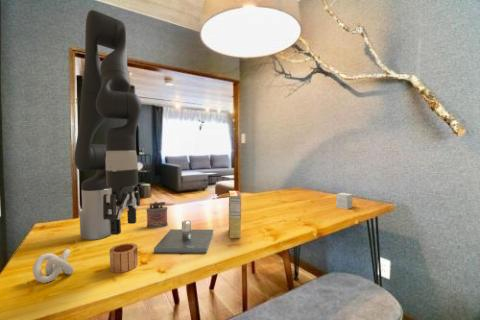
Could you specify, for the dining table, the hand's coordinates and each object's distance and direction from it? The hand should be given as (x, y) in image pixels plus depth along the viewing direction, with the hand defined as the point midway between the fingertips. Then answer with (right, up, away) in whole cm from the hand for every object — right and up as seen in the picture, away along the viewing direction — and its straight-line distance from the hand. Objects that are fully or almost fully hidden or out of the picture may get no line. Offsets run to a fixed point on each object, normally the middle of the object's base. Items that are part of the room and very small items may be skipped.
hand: (124, 228), depth 62 cm
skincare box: (+87, -7, +61) cm, 106 cm away
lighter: (-3, -9, +33) cm, 34 cm away
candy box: (+29, -9, +24) cm, 39 cm away
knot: (-14, -11, -4) cm, 19 cm away
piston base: (+13, -10, +16) cm, 23 cm away
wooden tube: (0, -10, +1) cm, 10 cm away
